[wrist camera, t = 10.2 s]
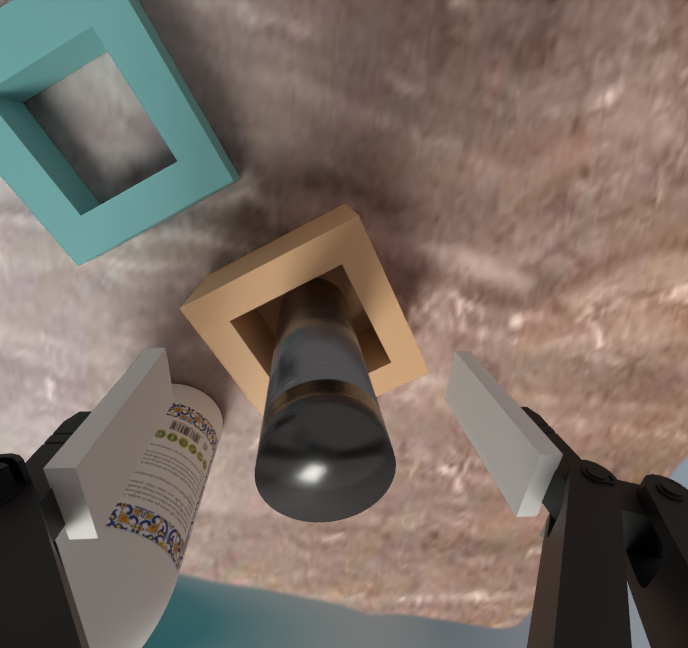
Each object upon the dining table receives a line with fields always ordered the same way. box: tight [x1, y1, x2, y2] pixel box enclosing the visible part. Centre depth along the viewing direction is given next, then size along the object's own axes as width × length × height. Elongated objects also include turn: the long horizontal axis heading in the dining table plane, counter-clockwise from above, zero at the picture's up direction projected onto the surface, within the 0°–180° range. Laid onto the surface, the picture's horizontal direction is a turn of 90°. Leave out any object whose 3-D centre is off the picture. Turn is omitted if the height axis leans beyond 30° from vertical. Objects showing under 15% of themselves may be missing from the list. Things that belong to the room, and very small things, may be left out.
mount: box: [0, 0, 241, 266], centre depth 18 cm, size 10×10×2 cm
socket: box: [179, 203, 429, 417], centre depth 22 cm, size 10×10×6 cm
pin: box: [255, 278, 396, 522], centre depth 17 cm, size 4×4×14 cm
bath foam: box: [55, 384, 223, 648], centre depth 18 cm, size 7×7×20 cm
